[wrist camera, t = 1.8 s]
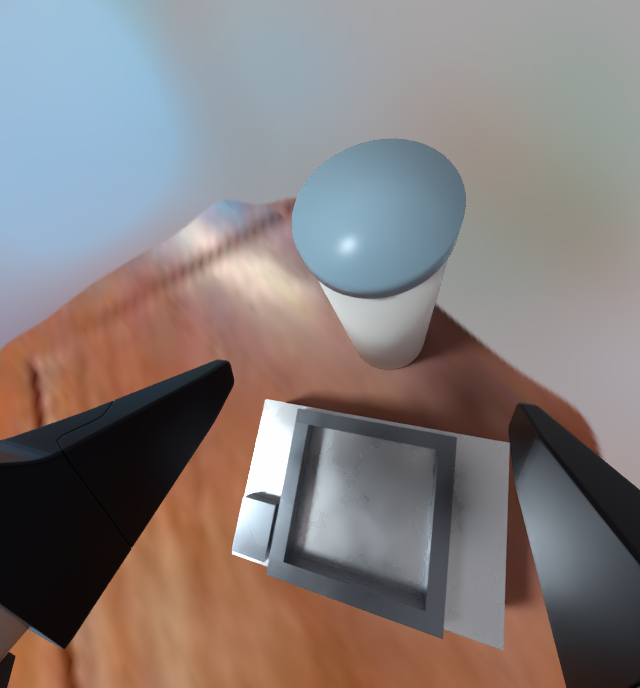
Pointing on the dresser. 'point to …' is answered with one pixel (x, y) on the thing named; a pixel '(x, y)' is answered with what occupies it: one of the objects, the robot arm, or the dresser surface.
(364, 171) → the lidded container
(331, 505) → the digital kitchen scale
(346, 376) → the dresser surface
